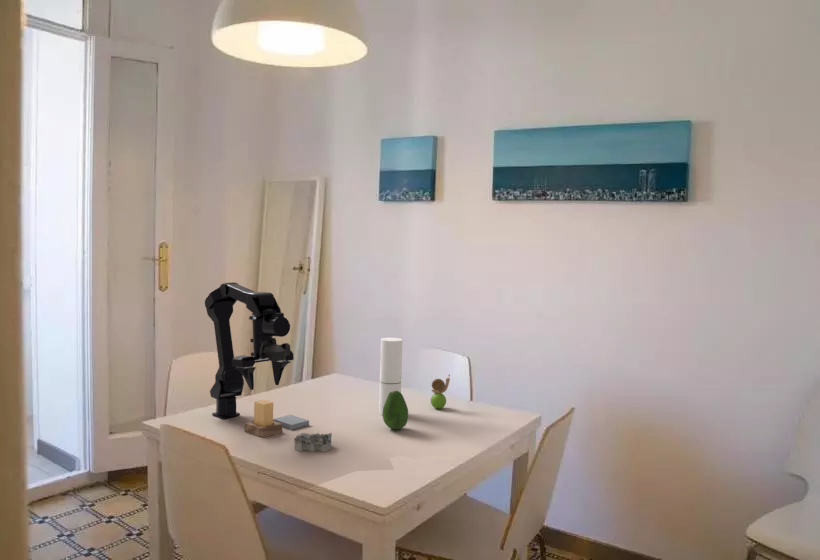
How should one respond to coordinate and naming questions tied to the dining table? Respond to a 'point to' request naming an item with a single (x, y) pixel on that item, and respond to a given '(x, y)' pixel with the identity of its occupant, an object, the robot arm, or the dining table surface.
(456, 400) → the dining table surface
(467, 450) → the dining table surface
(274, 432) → the brown square frame
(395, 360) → the cylindrical container
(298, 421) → the grey rubber mat
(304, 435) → the egg carton
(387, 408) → the avocado
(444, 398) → the snail figurine
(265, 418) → the amber plug
